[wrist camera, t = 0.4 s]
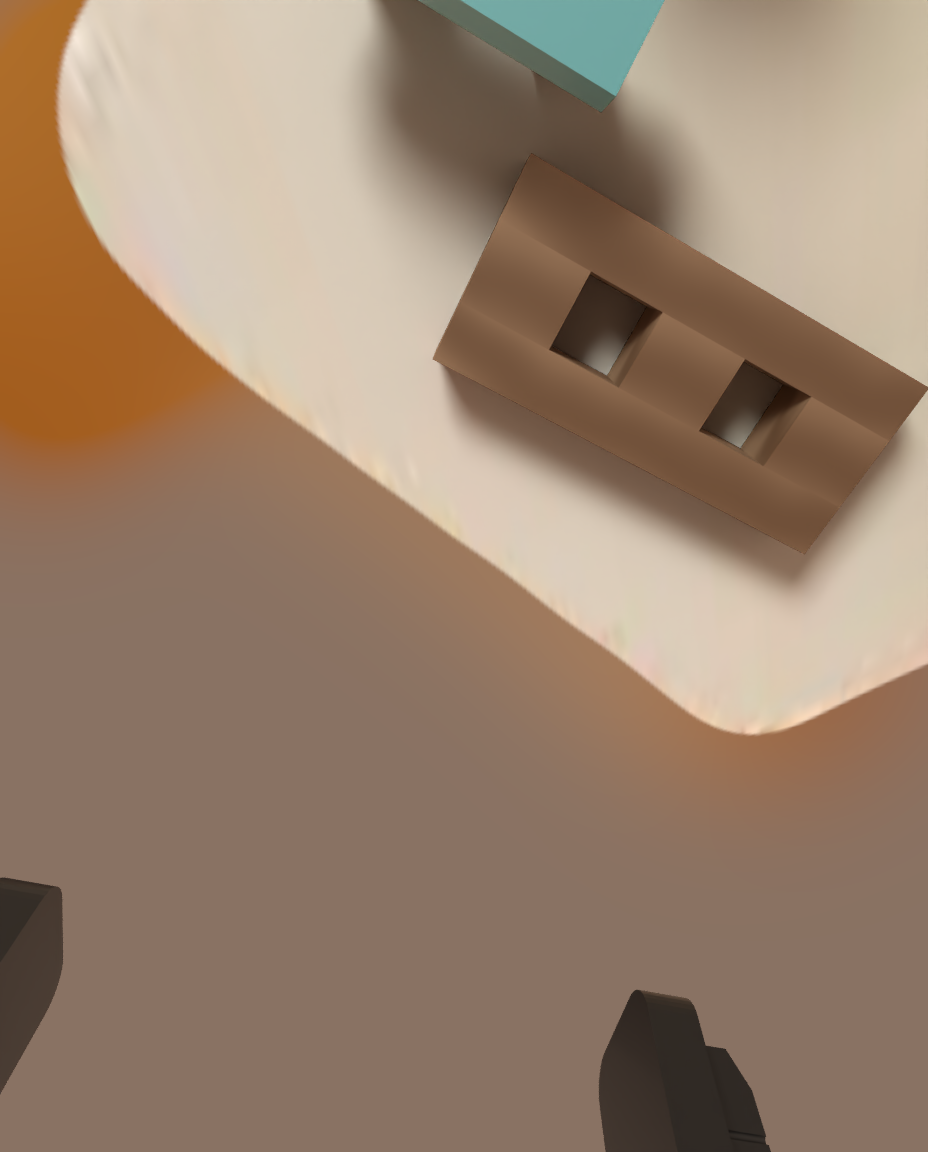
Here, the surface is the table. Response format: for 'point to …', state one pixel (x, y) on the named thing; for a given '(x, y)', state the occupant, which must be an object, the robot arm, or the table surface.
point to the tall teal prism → (562, 38)
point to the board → (673, 360)
